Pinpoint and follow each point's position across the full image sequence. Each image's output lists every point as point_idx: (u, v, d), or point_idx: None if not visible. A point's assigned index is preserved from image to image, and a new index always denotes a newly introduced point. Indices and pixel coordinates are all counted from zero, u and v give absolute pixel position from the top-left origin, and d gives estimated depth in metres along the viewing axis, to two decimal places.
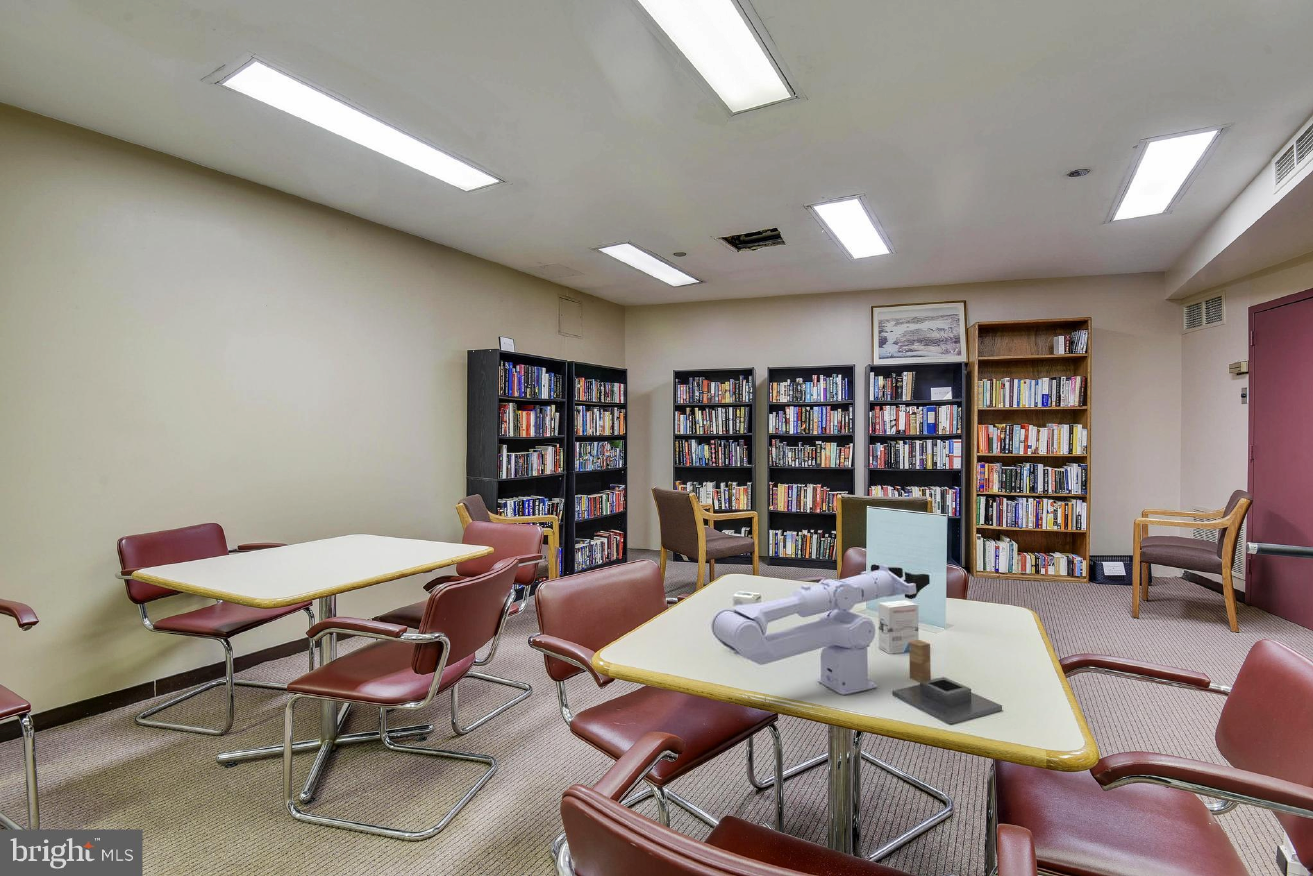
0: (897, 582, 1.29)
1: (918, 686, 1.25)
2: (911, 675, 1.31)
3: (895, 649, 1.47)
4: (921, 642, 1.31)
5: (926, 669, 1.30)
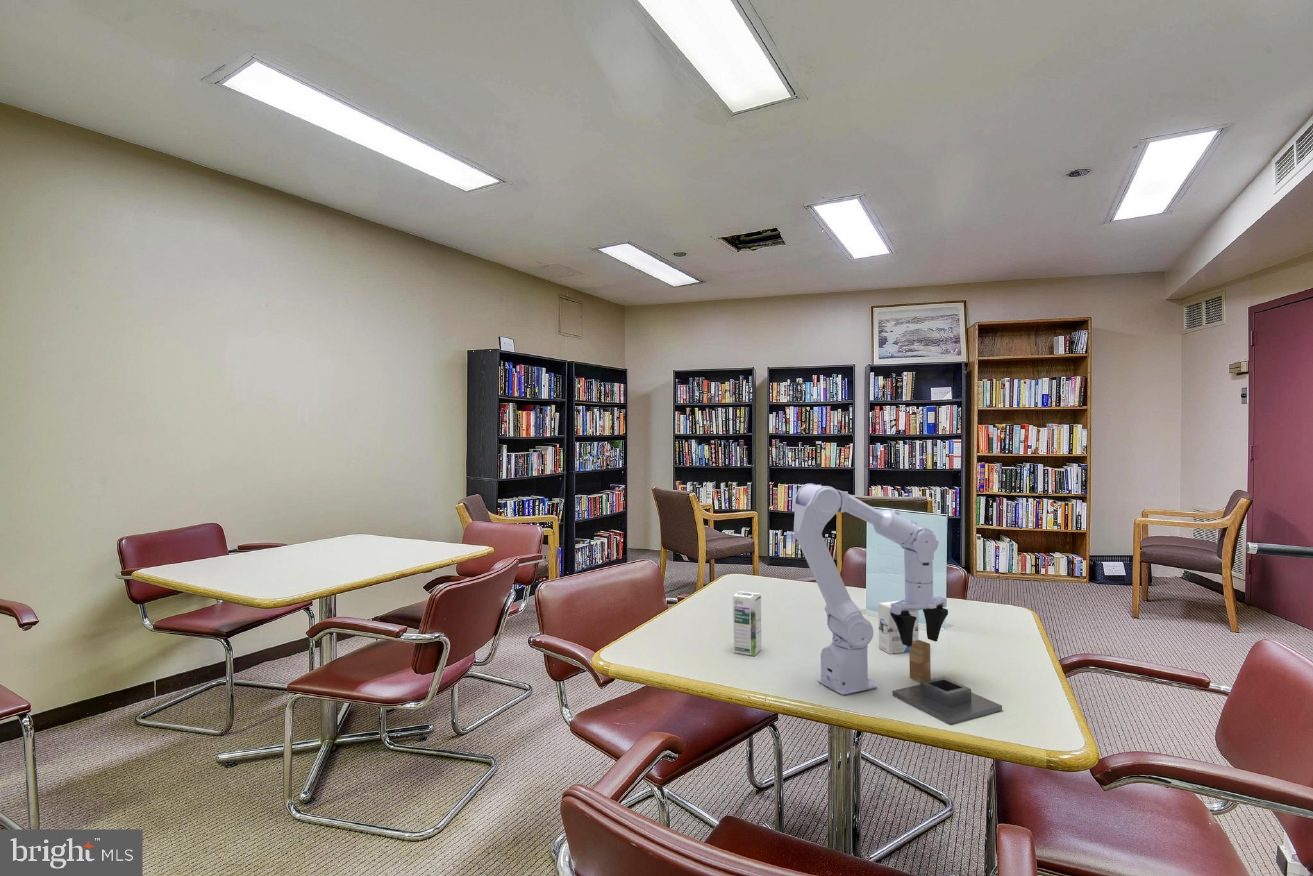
0: None
1: (918, 686, 1.25)
2: (911, 675, 1.31)
3: (895, 649, 1.47)
4: (921, 642, 1.31)
5: (926, 669, 1.30)
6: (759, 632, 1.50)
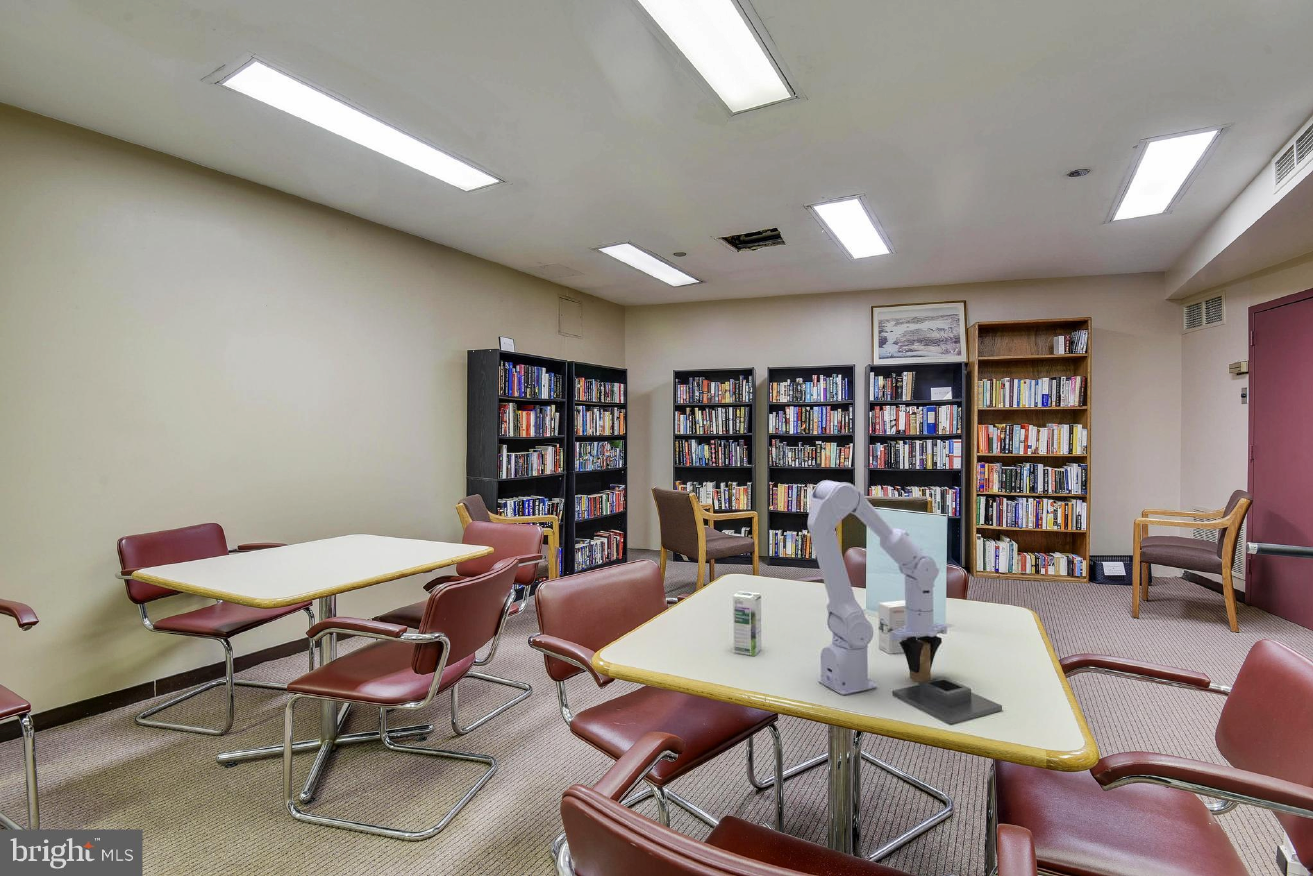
0: None
1: (918, 686, 1.25)
2: (911, 675, 1.31)
3: (895, 649, 1.47)
4: (921, 642, 1.31)
5: (926, 669, 1.30)
6: (759, 632, 1.50)
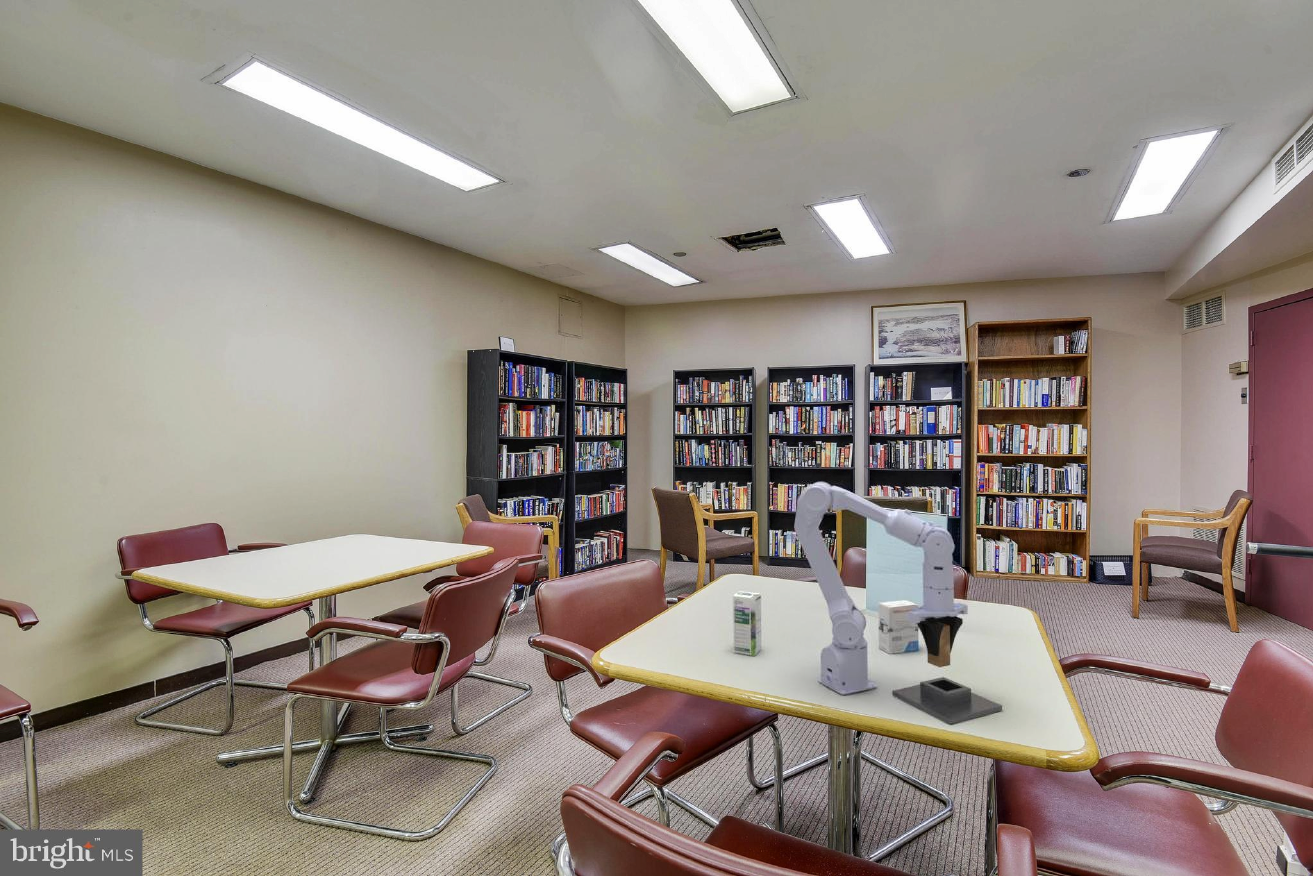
0: None
1: (918, 686, 1.25)
2: (929, 659, 1.22)
3: (895, 649, 1.47)
4: None
5: (946, 653, 1.21)
6: (759, 632, 1.50)
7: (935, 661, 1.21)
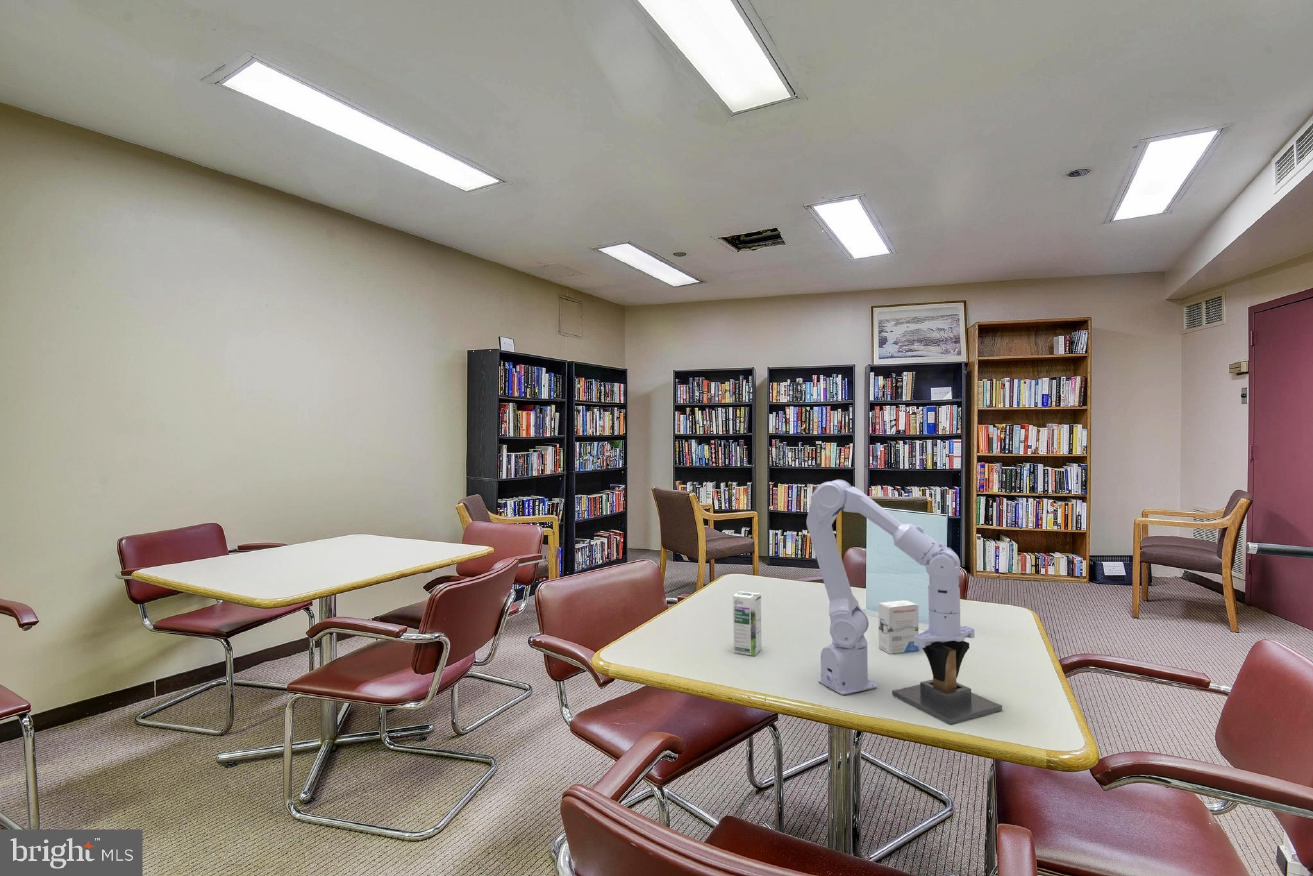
0: None
1: (918, 686, 1.25)
2: (935, 684, 1.19)
3: (895, 649, 1.47)
4: None
5: (952, 678, 1.18)
6: (759, 632, 1.50)
7: (941, 686, 1.18)
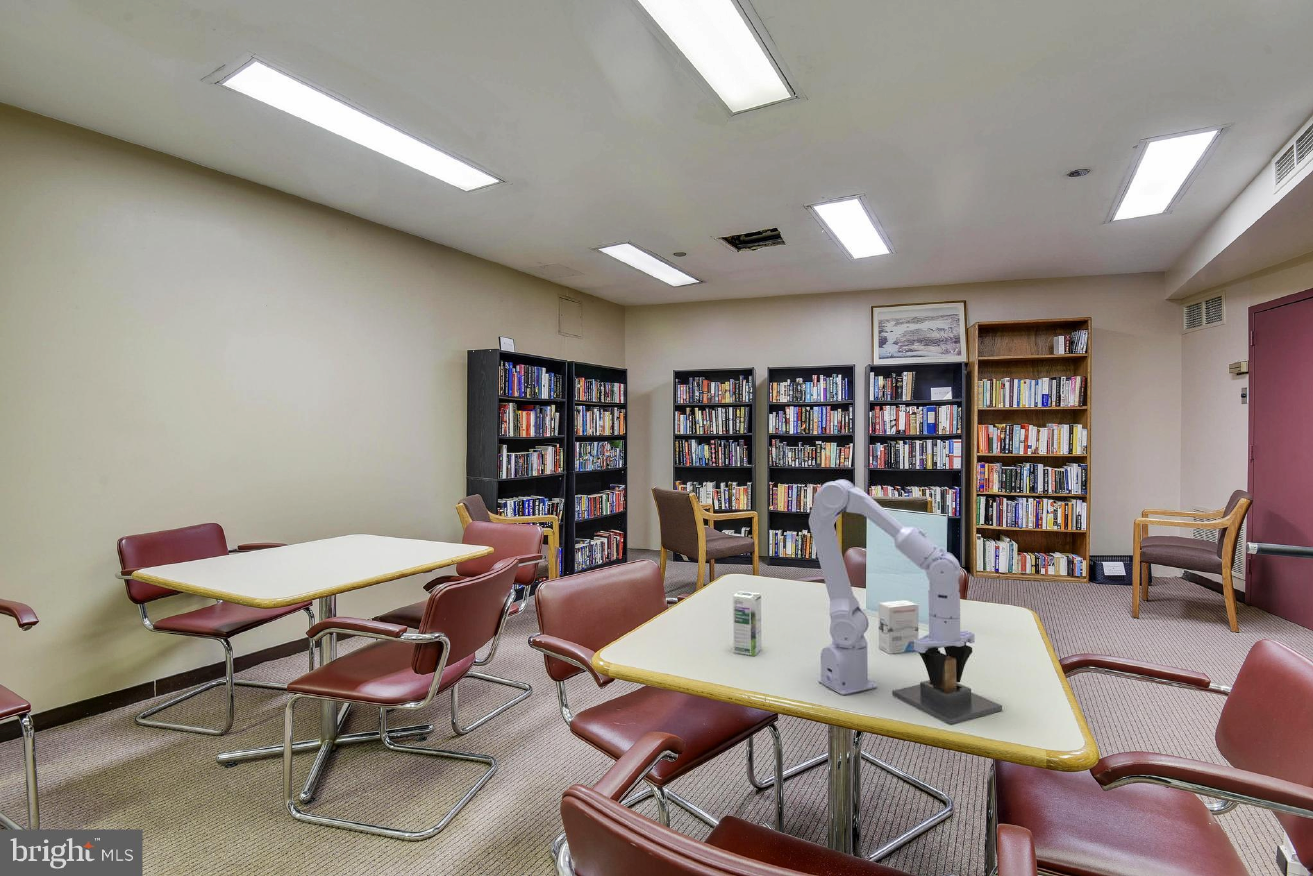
0: None
1: (918, 686, 1.25)
2: None
3: (895, 649, 1.47)
4: None
5: (952, 686, 1.18)
6: (759, 632, 1.50)
7: None
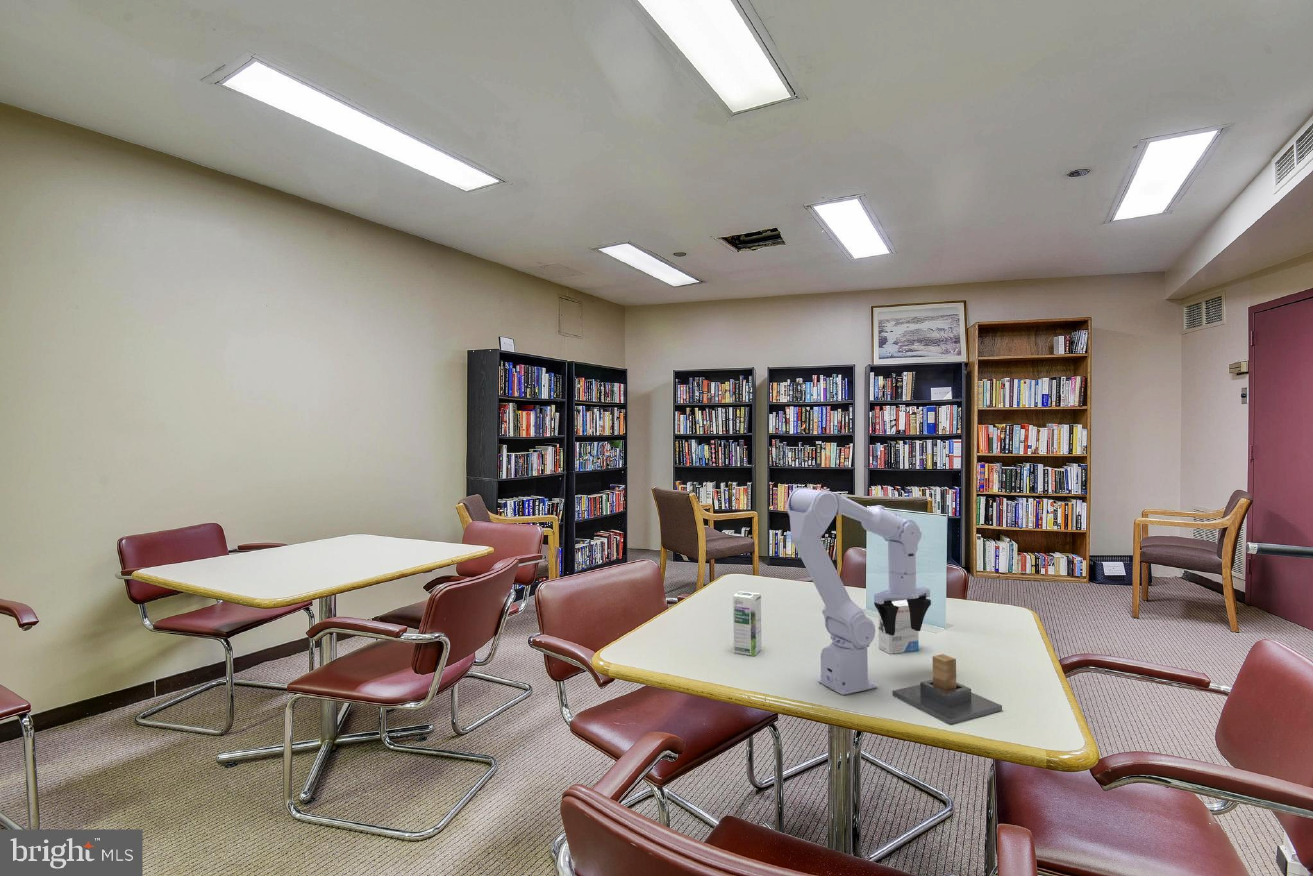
0: None
1: (918, 686, 1.25)
2: None
3: (895, 649, 1.47)
4: (945, 657, 1.19)
5: (952, 686, 1.18)
6: (759, 632, 1.50)
7: None
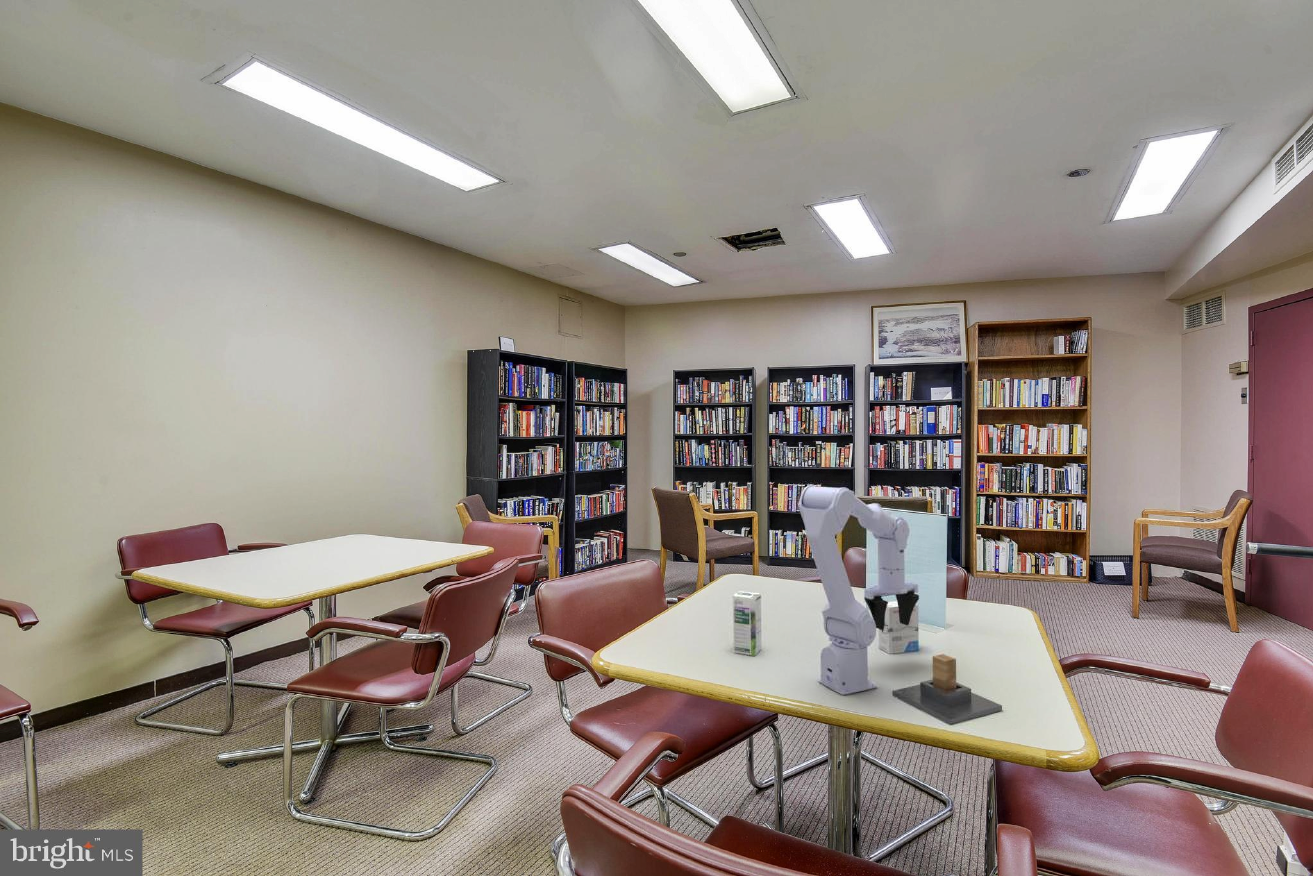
0: None
1: (918, 686, 1.25)
2: None
3: (895, 649, 1.47)
4: (945, 657, 1.19)
5: (952, 686, 1.18)
6: (759, 632, 1.50)
7: None
